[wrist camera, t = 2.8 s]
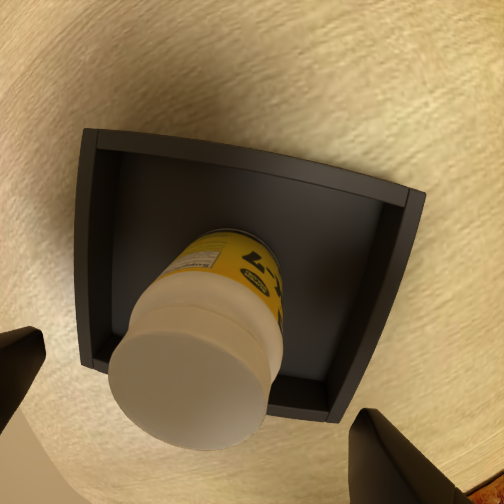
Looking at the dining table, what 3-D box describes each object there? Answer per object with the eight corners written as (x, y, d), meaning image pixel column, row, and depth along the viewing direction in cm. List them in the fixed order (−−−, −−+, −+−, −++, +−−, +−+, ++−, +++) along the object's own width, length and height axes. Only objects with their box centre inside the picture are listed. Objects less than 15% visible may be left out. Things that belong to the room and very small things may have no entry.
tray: (399, 184, 14) (427, 193, 11) (332, 386, 17) (339, 424, 14) (117, 130, 14) (82, 127, 11) (105, 336, 17) (80, 365, 14)
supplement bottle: (295, 306, 15) (306, 448, 7) (204, 331, 16) (151, 464, 8) (261, 210, 14) (239, 288, 6) (165, 244, 15) (61, 338, 7)
